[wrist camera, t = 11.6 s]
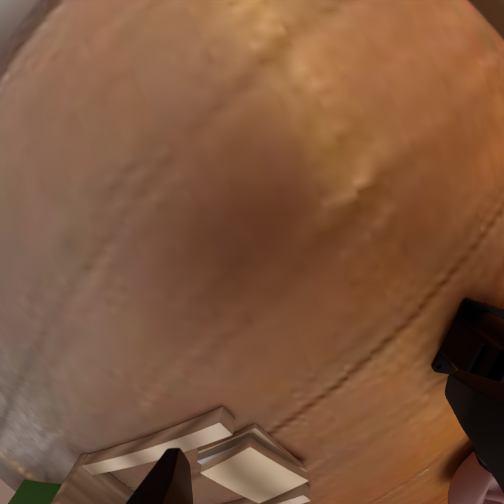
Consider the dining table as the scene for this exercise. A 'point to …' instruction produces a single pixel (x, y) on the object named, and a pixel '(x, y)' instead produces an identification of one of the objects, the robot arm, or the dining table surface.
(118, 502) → the birch rack
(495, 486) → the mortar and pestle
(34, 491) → the hardback book
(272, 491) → the offcut stack
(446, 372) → the robot arm
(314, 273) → the dining table surface
